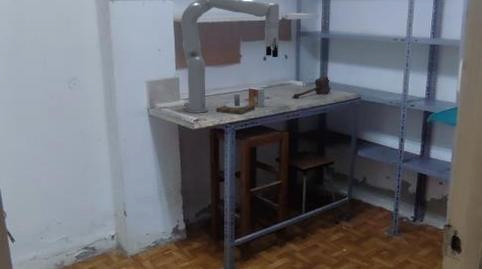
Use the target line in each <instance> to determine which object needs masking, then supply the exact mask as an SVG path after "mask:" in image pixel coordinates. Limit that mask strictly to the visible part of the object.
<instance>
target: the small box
mask: <svg viewBox="0 0 482 269" xmlns="http://www.w3.org/2000/svg"><path fill="white" fill-rule="evenodd" d="M248 105H251V106H255V108H262V107H264V106H265V88H260V87H248Z"/></svg>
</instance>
